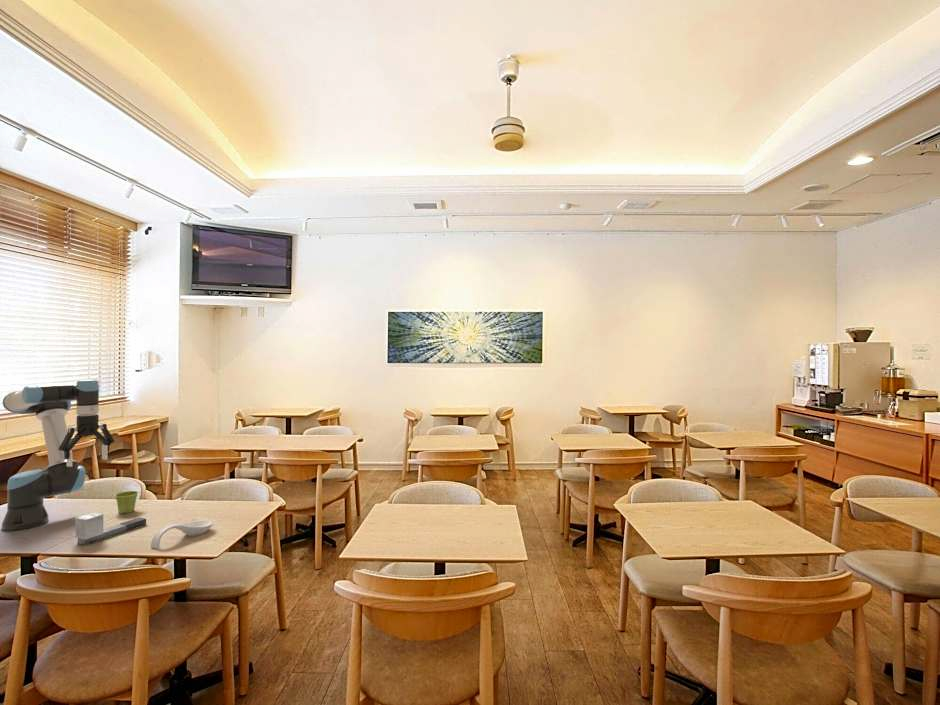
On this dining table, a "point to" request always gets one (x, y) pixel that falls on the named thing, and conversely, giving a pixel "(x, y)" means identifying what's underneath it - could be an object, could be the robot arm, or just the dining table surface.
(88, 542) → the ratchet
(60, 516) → the dining table surface
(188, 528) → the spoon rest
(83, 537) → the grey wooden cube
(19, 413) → the robot arm
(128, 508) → the plant pot
